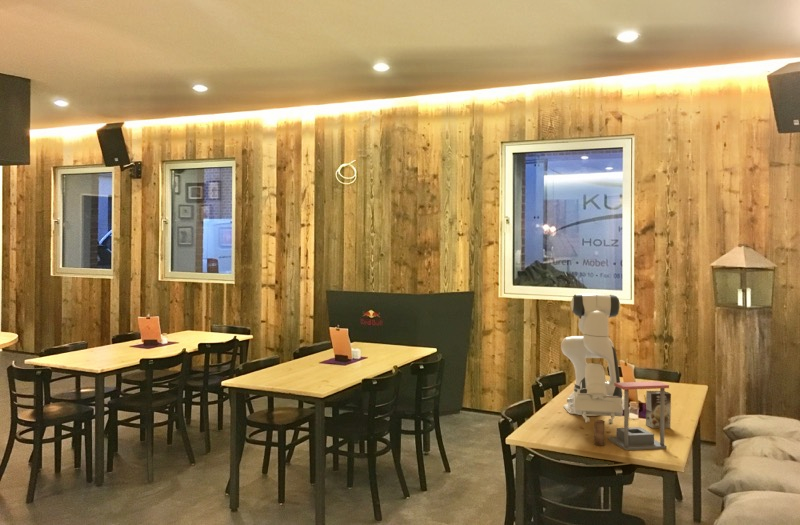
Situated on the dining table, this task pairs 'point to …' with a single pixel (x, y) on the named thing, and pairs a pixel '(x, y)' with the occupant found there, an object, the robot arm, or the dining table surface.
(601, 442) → the walnut peg
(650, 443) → the socket stand
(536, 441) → the dining table surface
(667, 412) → the coffee box
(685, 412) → the dining table surface
